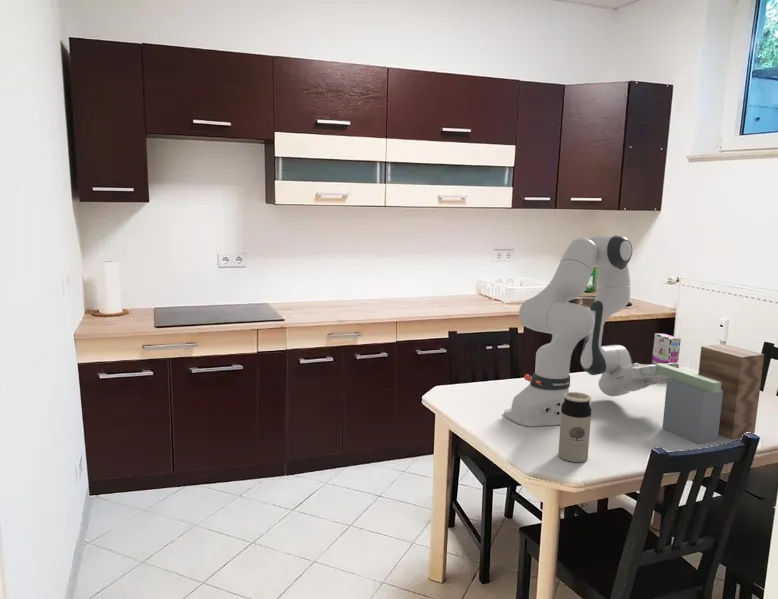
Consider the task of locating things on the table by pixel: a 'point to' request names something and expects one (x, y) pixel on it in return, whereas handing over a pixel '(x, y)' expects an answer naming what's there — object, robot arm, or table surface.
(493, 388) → the table surface
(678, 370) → the rail
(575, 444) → the travel mug
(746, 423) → the walnut stand
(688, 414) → the grey pedestal
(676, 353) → the candy bar box
